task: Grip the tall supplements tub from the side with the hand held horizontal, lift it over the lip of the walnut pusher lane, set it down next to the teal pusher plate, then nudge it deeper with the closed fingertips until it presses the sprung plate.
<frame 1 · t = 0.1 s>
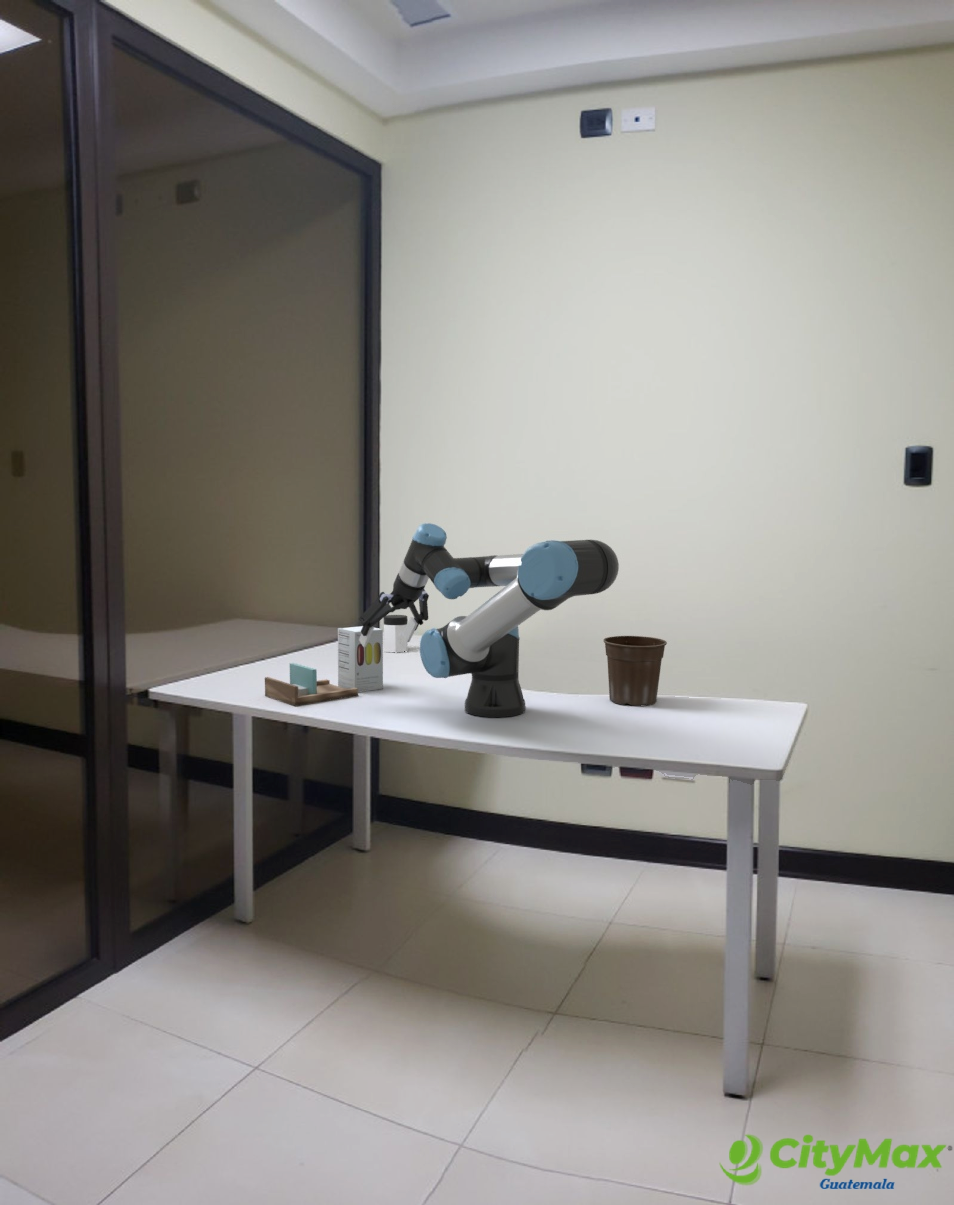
hand: (384, 641, 247), 15 cm above the table, tool tilted 35°, fingers open, 13 cm apart
lane: (313, 695, 252), on the table
supplement box: (360, 689, 262), on the table
jar: (395, 651, 322), on the table
plant pot: (633, 702, 246), on the table
pusher: (299, 679, 249), point 5 cm above the table, slide at 0.0 cm
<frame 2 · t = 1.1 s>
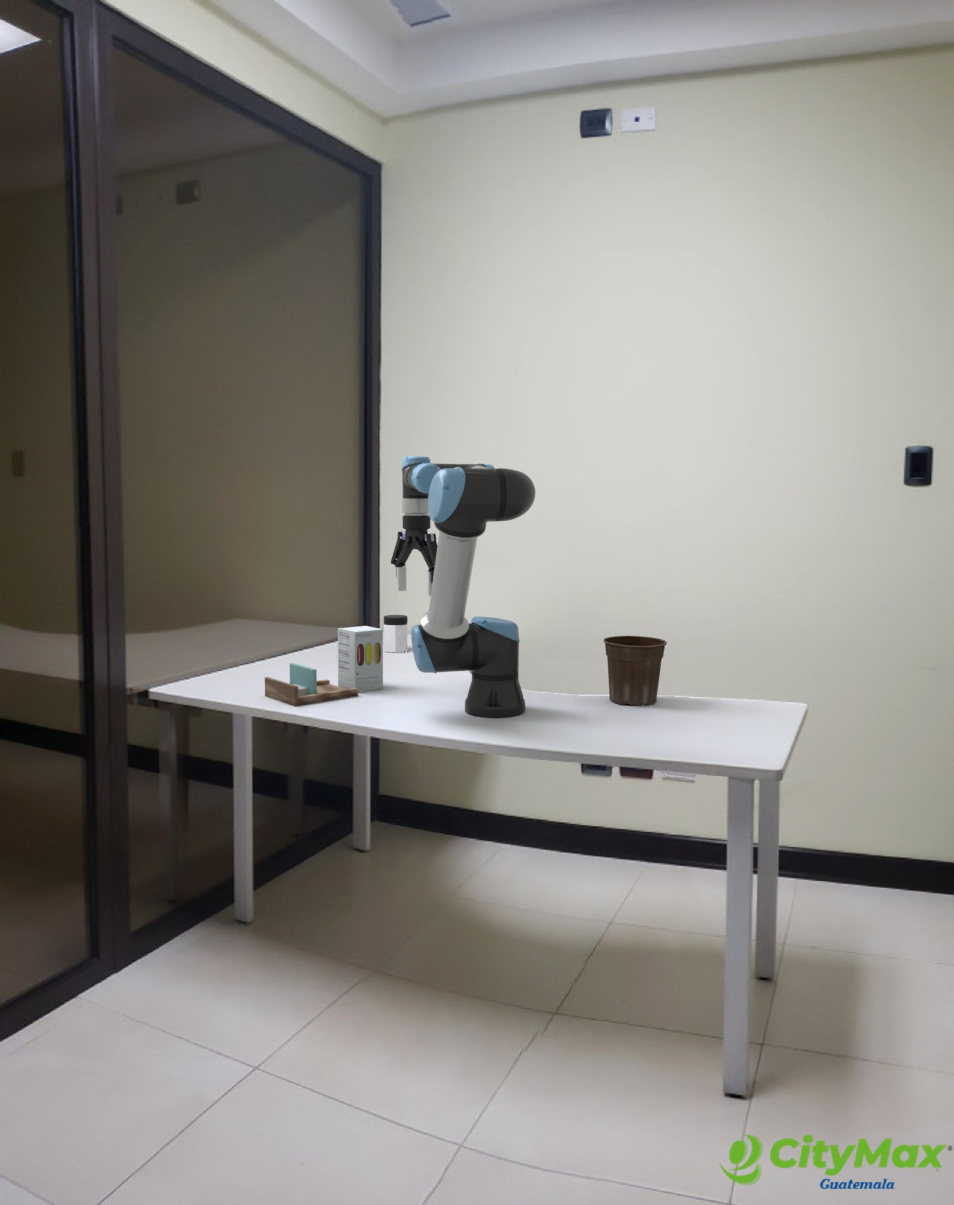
hand: (416, 593, 256), 27 cm above the table, tool pointing down, fingers open, 13 cm apart
nothing on the table moved.
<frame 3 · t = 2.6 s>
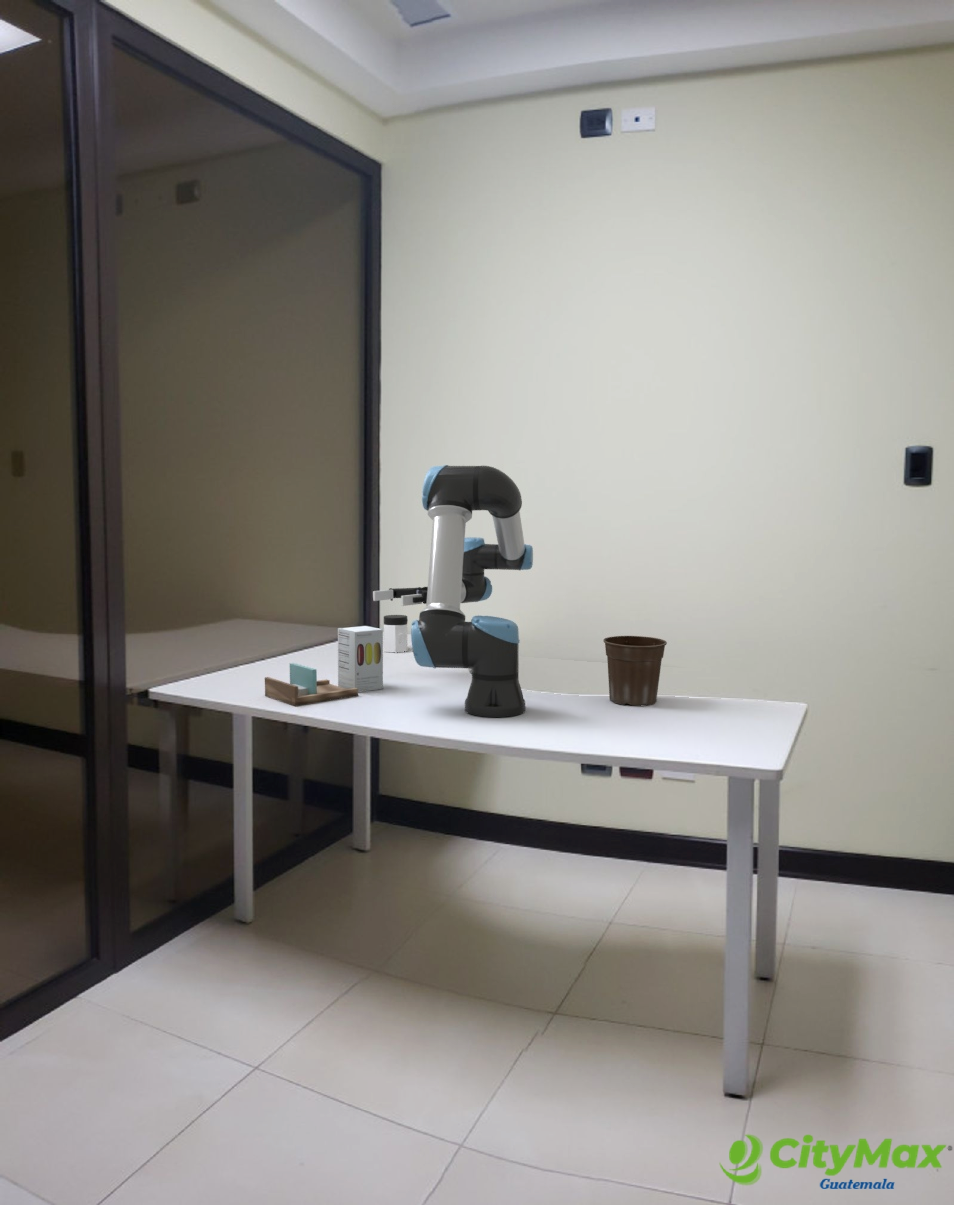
hand: (387, 598, 264), 24 cm above the table, tool horizontal, fingers open, 13 cm apart
nothing on the table moved.
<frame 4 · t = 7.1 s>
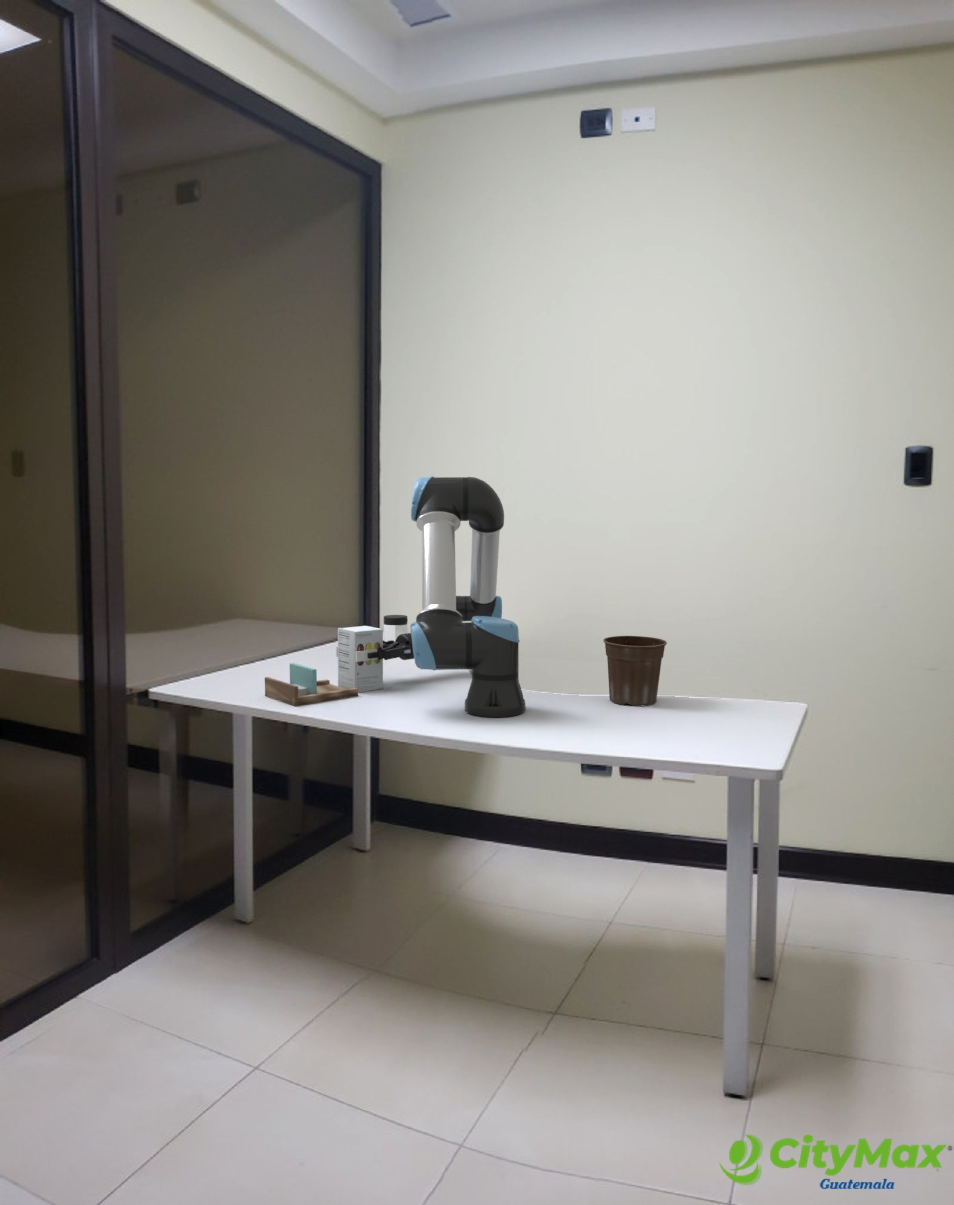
hand: (346, 654, 257), 10 cm above the table, tool horizontal, fingers closed on supplement box, 9 cm apart
supplement box: (360, 688, 262), on the table, touching gripper
everything else where it was.
when the fingers open (12 cm above the table, at t = 12.0 s): supplement box drops 1 cm, resting on lane.
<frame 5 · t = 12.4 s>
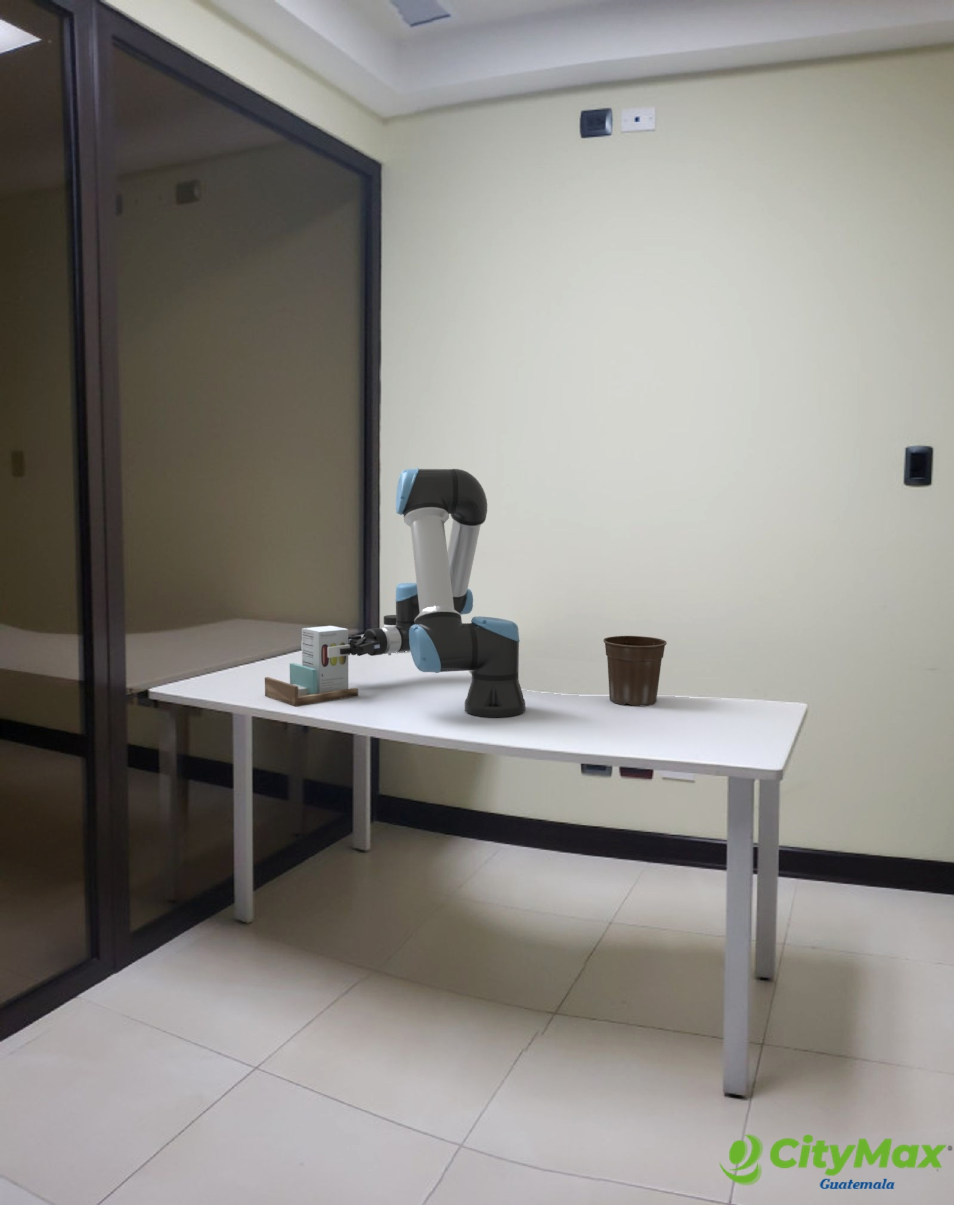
hand: (314, 649, 251), 12 cm above the table, tool horizontal, fingers open, 13 cm apart
supplement box: (325, 690, 254), point 1 cm above the table, touching lane
everything else where it was.
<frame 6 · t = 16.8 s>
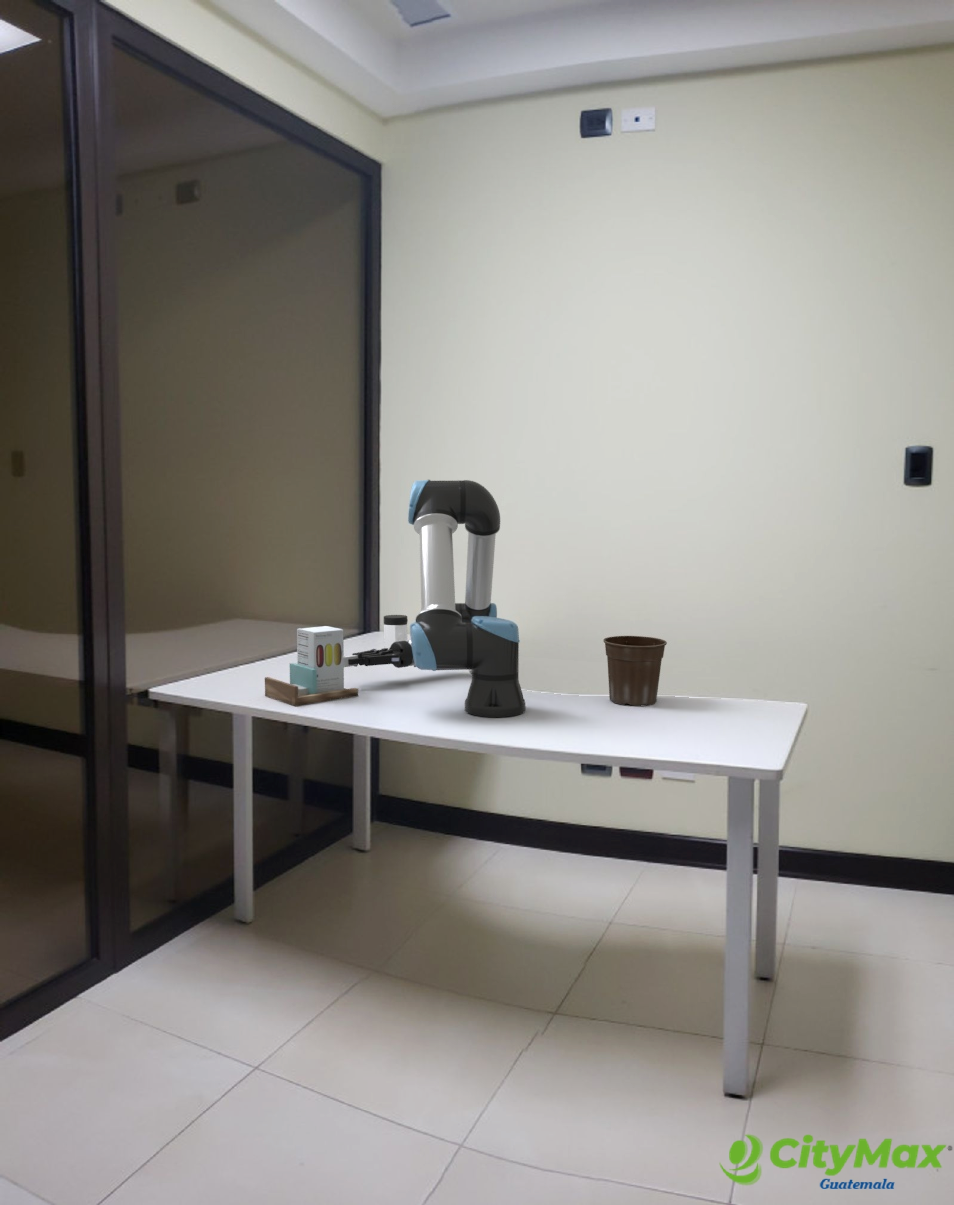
hand: (336, 662, 256), 8 cm above the table, tool horizontal, fingers closed
supplement box: (321, 691, 253), point 1 cm above the table, touching gripper
everything else where it was.
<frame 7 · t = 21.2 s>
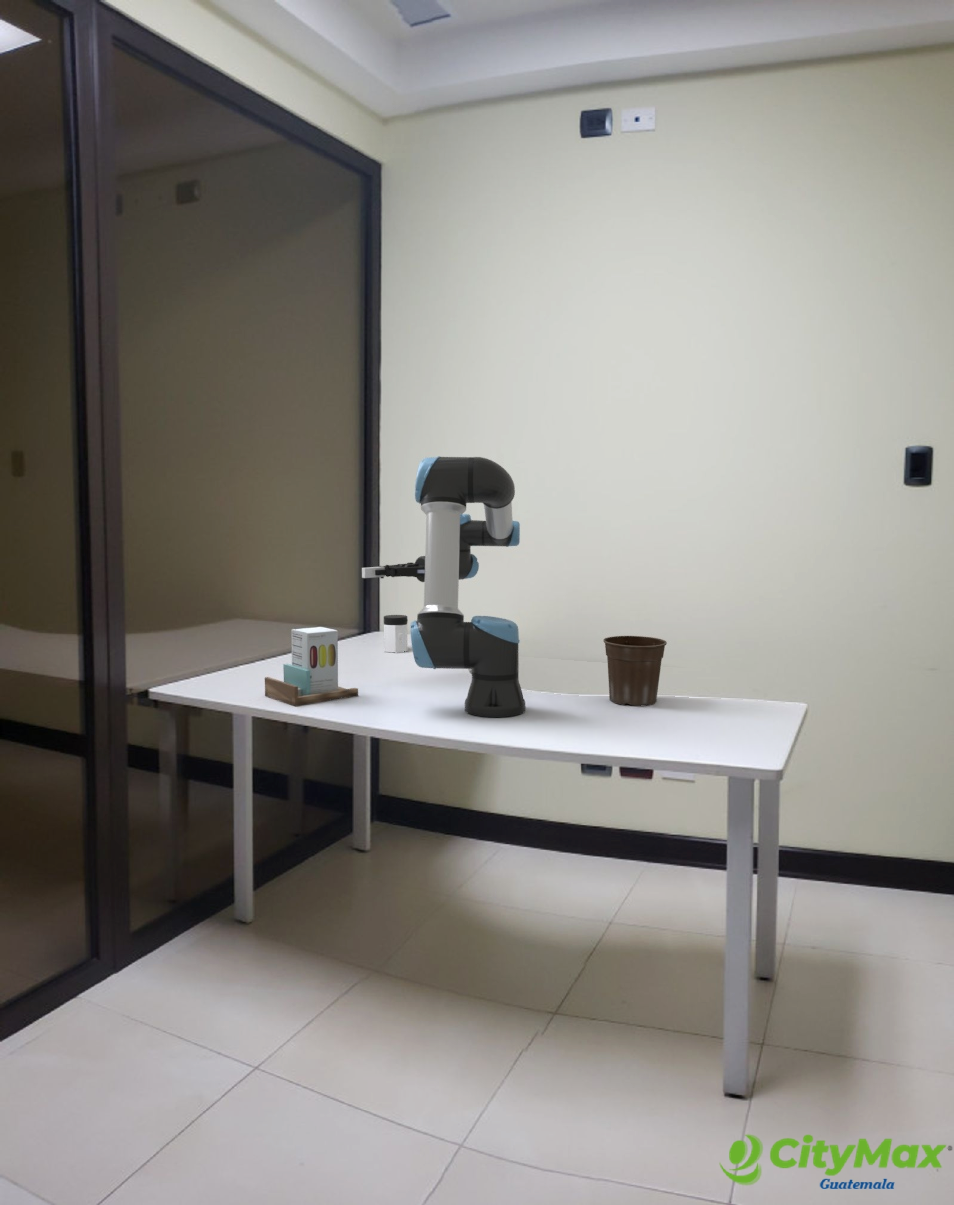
hand: (363, 572, 259), 32 cm above the table, tool horizontal, fingers closed
supplement box: (315, 692, 252), point 1 cm above the table, touching lane, pusher
pusher: (292, 680, 247), point 5 cm above the table, slide at 1.8 cm, touching supplement box
everything else where it was.
at the end: supplement box 0.6 cm from the lane (horizontally); supplement box tilted 0°; the gripper is holding nothing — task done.
